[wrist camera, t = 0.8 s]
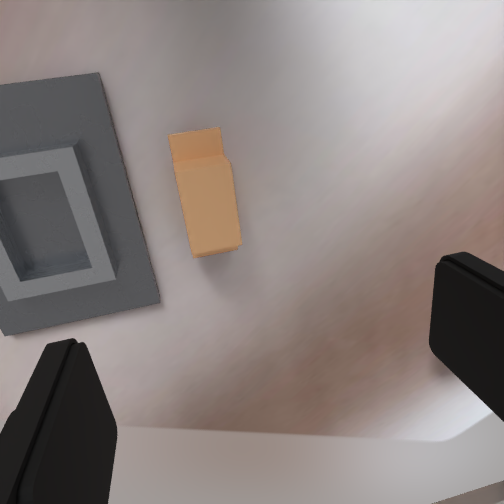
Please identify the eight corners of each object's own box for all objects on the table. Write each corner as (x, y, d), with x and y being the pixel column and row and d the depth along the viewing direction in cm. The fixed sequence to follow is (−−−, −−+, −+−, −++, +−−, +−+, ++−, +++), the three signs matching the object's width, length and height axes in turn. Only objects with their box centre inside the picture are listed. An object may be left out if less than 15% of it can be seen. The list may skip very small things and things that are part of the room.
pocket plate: (-112, 99, 26) (-143, 102, 23) (98, 72, 27) (92, 73, 25) (8, 329, 35) (-5, 350, 32) (160, 297, 37) (160, 314, 34)
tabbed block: (167, 130, 30) (168, 143, 25) (215, 123, 31) (226, 134, 26) (191, 245, 35) (196, 276, 30) (232, 237, 36) (245, 266, 30)
